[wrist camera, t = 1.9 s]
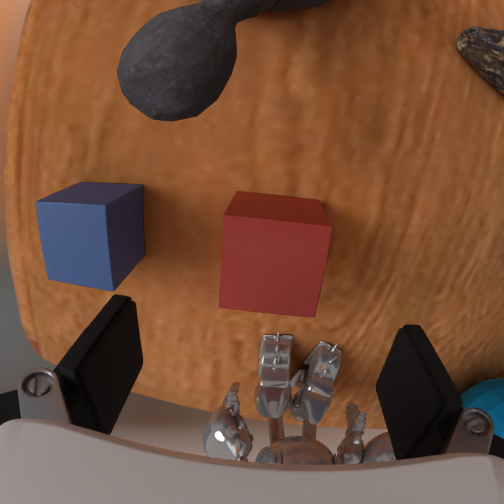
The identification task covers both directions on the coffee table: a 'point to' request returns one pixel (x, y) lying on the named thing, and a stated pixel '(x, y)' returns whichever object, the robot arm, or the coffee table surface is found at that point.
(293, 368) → the coffee table surface
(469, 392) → the piggy bank
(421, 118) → the coffee table surface
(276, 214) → the red block
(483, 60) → the statue
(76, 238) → the blue block
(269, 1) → the teapot
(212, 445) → the robot toy
